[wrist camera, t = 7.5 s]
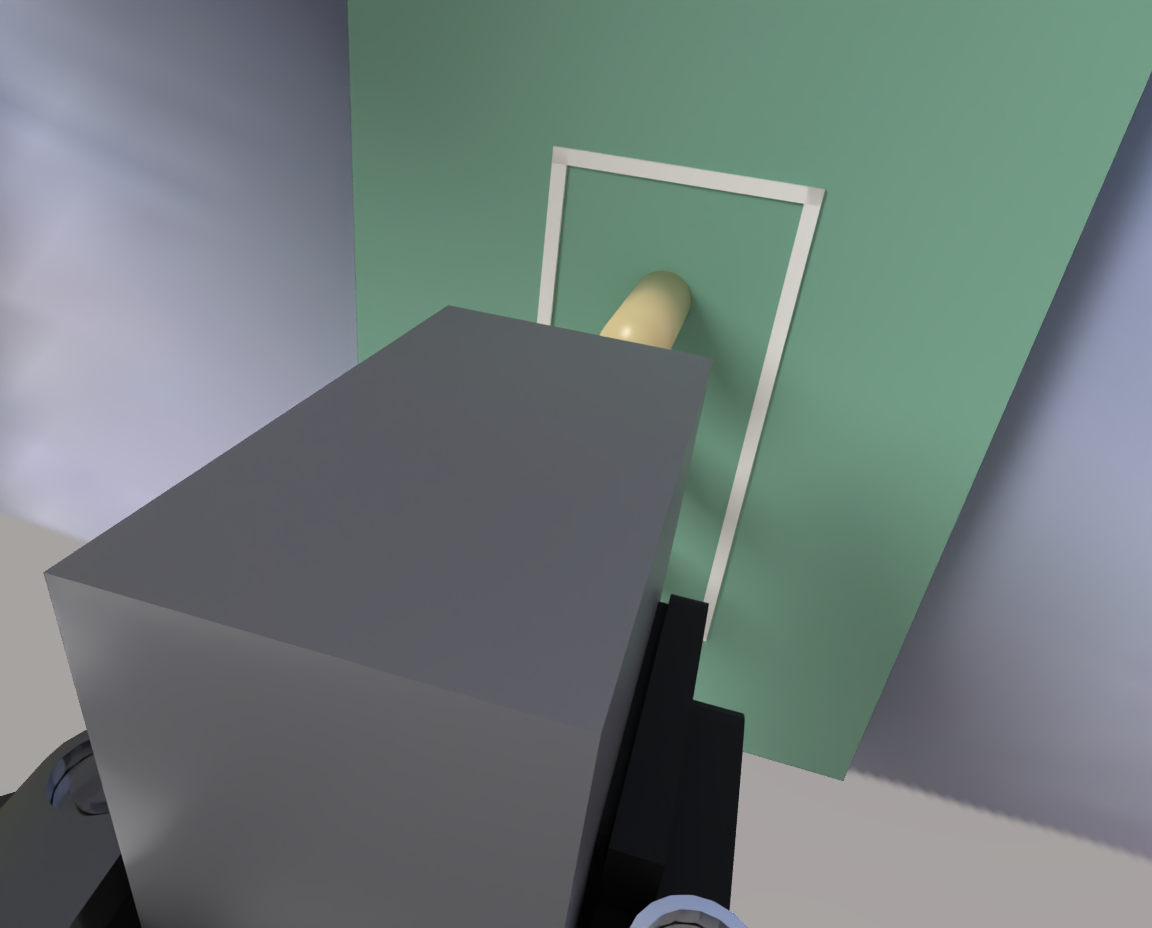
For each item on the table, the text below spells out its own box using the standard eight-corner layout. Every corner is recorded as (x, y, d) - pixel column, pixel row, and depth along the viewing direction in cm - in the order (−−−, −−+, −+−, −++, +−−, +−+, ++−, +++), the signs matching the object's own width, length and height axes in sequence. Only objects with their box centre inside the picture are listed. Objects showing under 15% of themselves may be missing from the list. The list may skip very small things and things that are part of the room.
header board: (1145, 1, 13) (1304, -28, 9) (841, 735, 22) (848, 892, 18) (385, -82, 15) (230, -135, 11) (391, 608, 24) (305, 720, 20)
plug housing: (714, 358, 9) (601, 734, 4) (608, 842, 13) (489, 1319, 8) (448, 304, 10) (44, 572, 4) (430, 786, 14) (217, 1199, 9)
